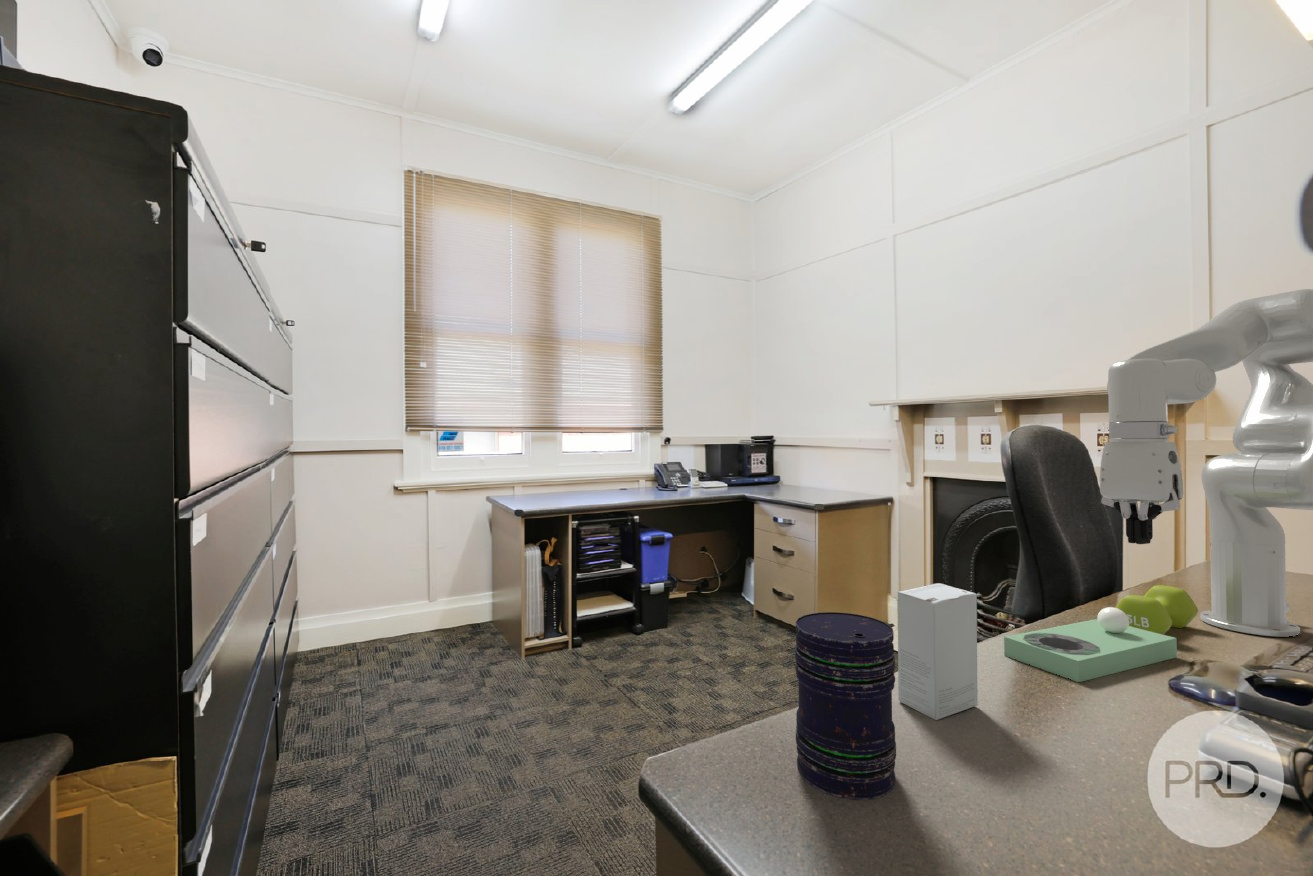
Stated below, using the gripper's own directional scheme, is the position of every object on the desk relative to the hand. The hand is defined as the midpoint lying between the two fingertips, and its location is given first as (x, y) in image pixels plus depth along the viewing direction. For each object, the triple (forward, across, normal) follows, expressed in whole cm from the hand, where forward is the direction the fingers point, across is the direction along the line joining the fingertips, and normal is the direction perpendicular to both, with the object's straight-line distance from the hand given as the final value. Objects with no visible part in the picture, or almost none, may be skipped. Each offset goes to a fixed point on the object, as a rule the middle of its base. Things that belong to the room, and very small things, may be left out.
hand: (1139, 542), depth 94 cm
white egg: (+12, 0, +7) cm, 14 cm away
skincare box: (+17, -3, +49) cm, 52 cm away
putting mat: (+17, 0, +13) cm, 22 cm away
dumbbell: (+17, +3, -11) cm, 21 cm away
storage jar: (+18, -10, +70) cm, 73 cm away
